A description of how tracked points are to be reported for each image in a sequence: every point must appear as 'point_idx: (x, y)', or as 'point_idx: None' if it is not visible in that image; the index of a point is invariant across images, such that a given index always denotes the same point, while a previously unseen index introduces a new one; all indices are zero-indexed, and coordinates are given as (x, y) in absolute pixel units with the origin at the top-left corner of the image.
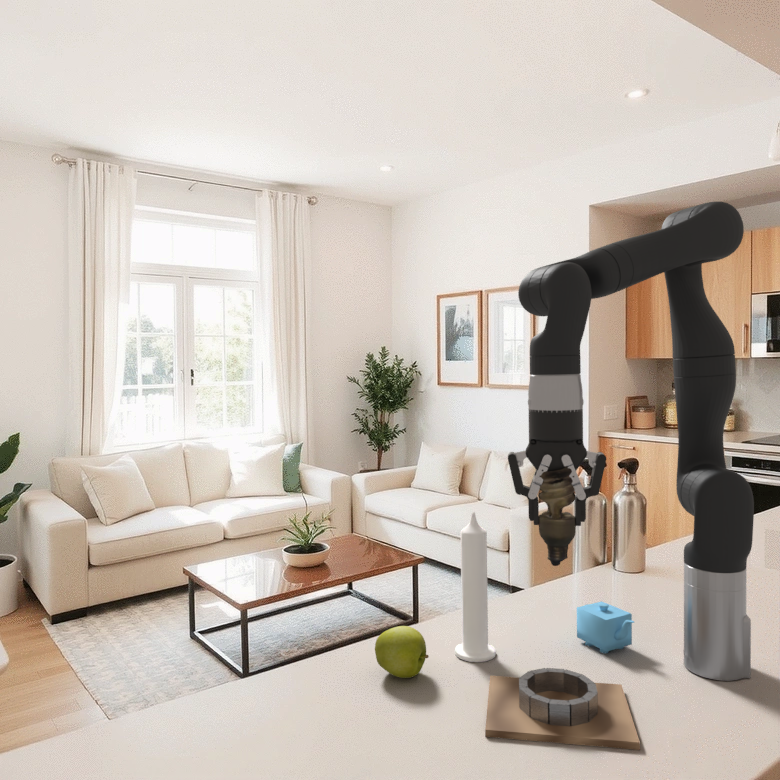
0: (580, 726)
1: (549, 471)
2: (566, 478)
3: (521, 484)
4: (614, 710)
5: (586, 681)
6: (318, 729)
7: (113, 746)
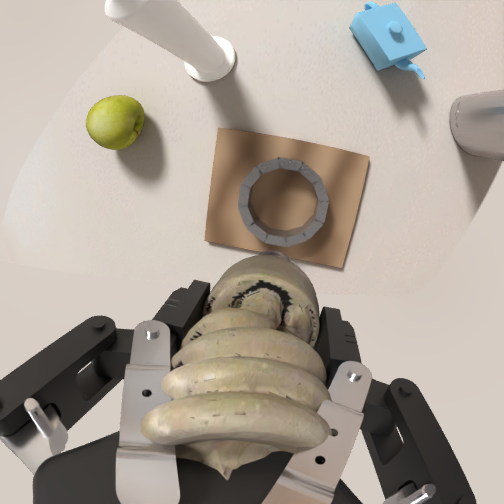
0: None
1: None
2: None
3: (104, 391)
4: (341, 212)
5: (320, 196)
6: (84, 223)
7: (12, 241)
